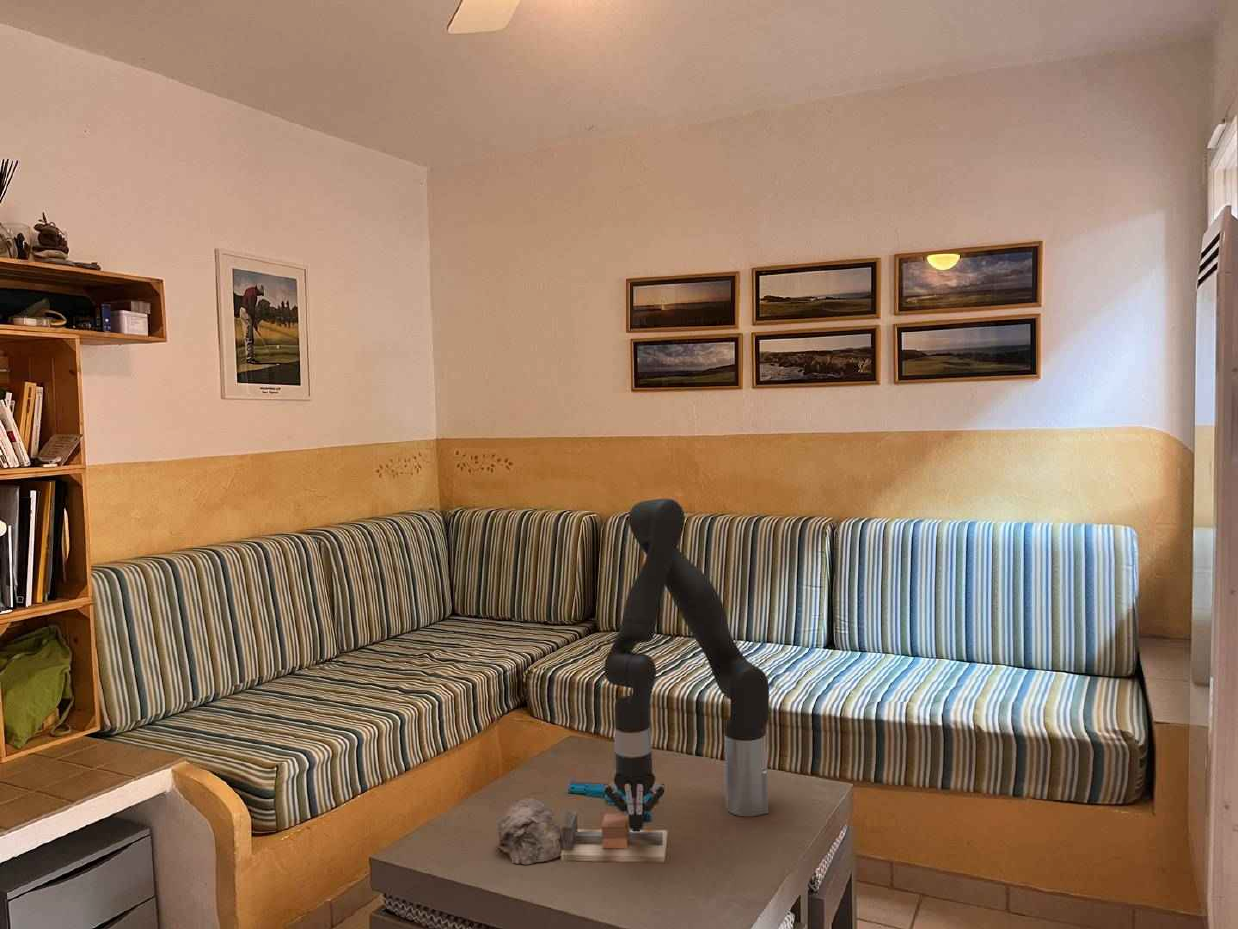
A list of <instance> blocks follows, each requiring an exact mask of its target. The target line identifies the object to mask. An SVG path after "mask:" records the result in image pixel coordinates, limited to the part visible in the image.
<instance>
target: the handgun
mask: <svg viewBox="0 0 1238 929" xmlns="http://www.w3.org/2000/svg"><path fill="white" fill-rule="evenodd" d="M606 784H607V783H604V782H603V783H602V782H589V781H588V782H587V781H576V780H575V781H574V780H572V781H571V782H570V783H569V786H568V788H567V790H568V791H567V792H568V793H569V794H576V795H577V794H578V795H585V796H586V797H590V798H591V797H592V798H604V799H605V802H606V803H607V804H613V805H615V804H614V803H613V802H612V800H611V799H610V798H609V797H608V796H607V795H606V793H605V787H606ZM616 787H617V786H616ZM617 792H618V794H619V795H620V796H621V797H622V798H623V799H624V801H625V802H626V803H627V801H626V796H624V795H623V794H622V792H621V791H620V790H619V789H618V787H617ZM652 794H653V790H652V788H651V789H650V790H649V792H648V793H647V795H646V796H644V798H643V804H644V803H646V802H647V801H648V799H649V798H650V797H651V795H652ZM659 801H660V799H659V800H658V801H657V803H658V802H659ZM634 802H635V810H636V808H637V798H636V797H634ZM623 814H628V813H627V812H625V811H624V812H623ZM651 814H652V813H651V810H650V811H649V812H644V813H643V823H645V822H647V823H648V822H650V821H651V820H652V815H651Z"/></svg>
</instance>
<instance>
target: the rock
mask: <svg viewBox="0 0 1238 929" xmlns="http://www.w3.org/2000/svg"><path fill="white" fill-rule="evenodd" d="M497 826H498V828H497V831H498V832H497V833H498V838H499V842H498V848H499V849H500V850H502V851H503V852H504V853H508V855H509V857H510V858H511V863H512V864H522V865H530V864H534V863H540V862H541V863H543V862H548V861H551V860H553V859H556V858H559V857H561V853H562V850H563V842H562V829H561V827H560V824H559V822H558V821H557V819H556V817H555V813H554V812H553V810H552V809H551V808H550V807H548V806H547V805H546V804H545V803H543V802H541V801H539V800H538V799H537V800H536V799H534V798H523V799H521V800H519V801H518V802H517V803H516V804H513V805H512V806H511V807H510V808H508V811H506V813H505V814H503V816H502V818H501V819H500V820H499V821H498V825H497Z"/></svg>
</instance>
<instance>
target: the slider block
mask: <svg viewBox="0 0 1238 929" xmlns="http://www.w3.org/2000/svg"><path fill="white" fill-rule="evenodd" d="M601 824H602V825H601V830H602V843H603V848H622V849H627V846H628V836H627V835H628V832H630V830H631V829H630V827H629V814H624V813H605V814H604V817H603V820H602V823H601Z"/></svg>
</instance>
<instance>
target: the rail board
mask: <svg viewBox="0 0 1238 929" xmlns="http://www.w3.org/2000/svg"><path fill="white" fill-rule="evenodd" d="M668 833H669V832H668V830H663V829H662V830H659V829H657V830H655V829H653V830H651V829H650V830H649V829H646V830H645V829H640V832H633V829H630V832H628V835H627V836H628V846H627V849H622V848H603V843H602V829H586V828H585V829H582V828H581V829H579V828H578V812H577V811H567V813H566V815H565V818H564V820H563V823H562V825H561V836H562V842H563V850H562V853H561V855H560V861H563V862H565V861H569V862H571V861H573V862H575V861H576V862H620V863H621V862H624V863H627V862H629V863H630V862H631V863H632V862H633V863H665V860H666V854H667V853H666V852H667V844H668V838H669V836H668Z"/></svg>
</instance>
